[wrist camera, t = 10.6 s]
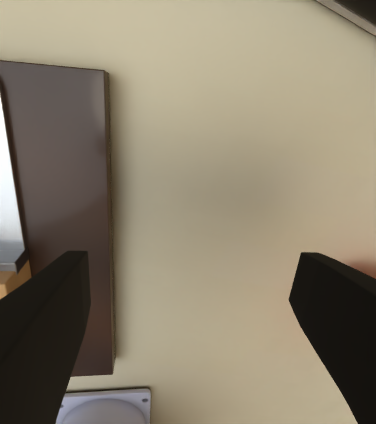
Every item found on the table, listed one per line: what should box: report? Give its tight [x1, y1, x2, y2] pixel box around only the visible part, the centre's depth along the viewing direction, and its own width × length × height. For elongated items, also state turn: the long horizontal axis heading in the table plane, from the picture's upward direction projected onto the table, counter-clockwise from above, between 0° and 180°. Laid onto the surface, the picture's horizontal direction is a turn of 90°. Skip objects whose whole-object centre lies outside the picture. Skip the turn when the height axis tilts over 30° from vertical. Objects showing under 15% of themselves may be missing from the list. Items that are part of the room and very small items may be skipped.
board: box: [0, 60, 115, 377], centre depth 17 cm, size 21×12×2 cm, turn 175°
